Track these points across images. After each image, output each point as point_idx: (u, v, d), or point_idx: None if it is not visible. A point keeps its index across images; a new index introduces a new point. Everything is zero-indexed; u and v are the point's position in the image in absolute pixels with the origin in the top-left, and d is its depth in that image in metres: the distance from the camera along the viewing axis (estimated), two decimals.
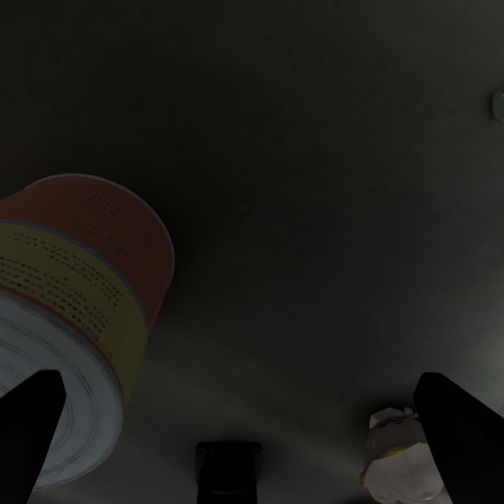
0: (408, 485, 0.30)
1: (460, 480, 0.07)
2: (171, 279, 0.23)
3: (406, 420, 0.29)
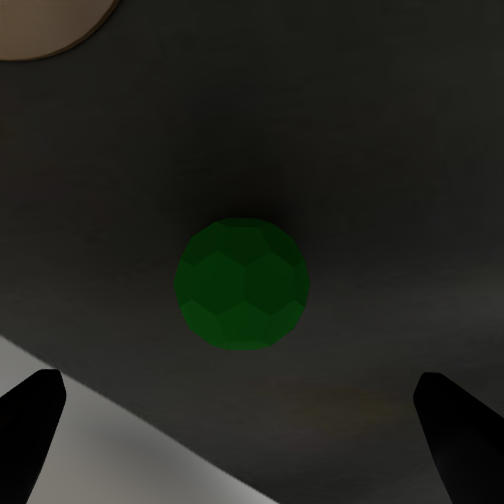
0: None
1: (460, 480, 0.07)
2: None
3: None
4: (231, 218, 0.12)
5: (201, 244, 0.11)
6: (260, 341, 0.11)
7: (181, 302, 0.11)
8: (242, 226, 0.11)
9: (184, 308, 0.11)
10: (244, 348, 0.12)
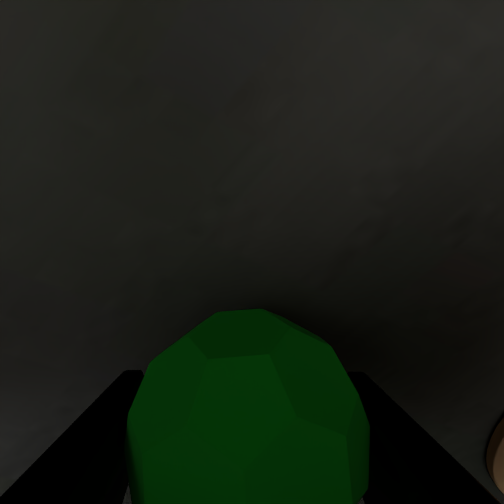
0: None
1: (372, 482, 0.07)
2: None
3: None
4: None
5: None
6: None
7: (349, 447, 0.05)
8: None
9: (341, 455, 0.05)
10: (167, 459, 0.05)
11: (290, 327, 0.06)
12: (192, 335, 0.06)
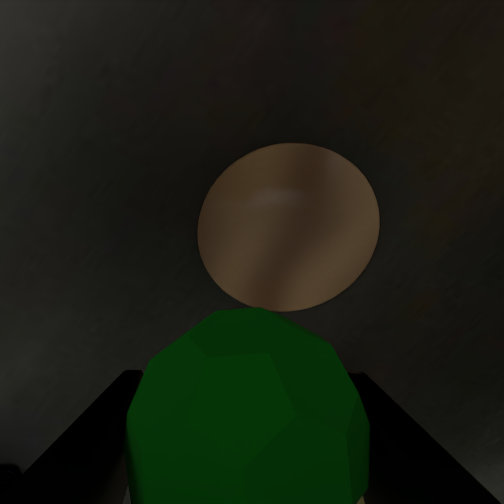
0: None
1: (372, 482, 0.07)
2: None
3: None
4: None
5: None
6: None
7: (349, 446, 0.05)
8: None
9: (341, 454, 0.05)
10: (167, 458, 0.05)
11: (290, 326, 0.06)
12: (192, 333, 0.06)
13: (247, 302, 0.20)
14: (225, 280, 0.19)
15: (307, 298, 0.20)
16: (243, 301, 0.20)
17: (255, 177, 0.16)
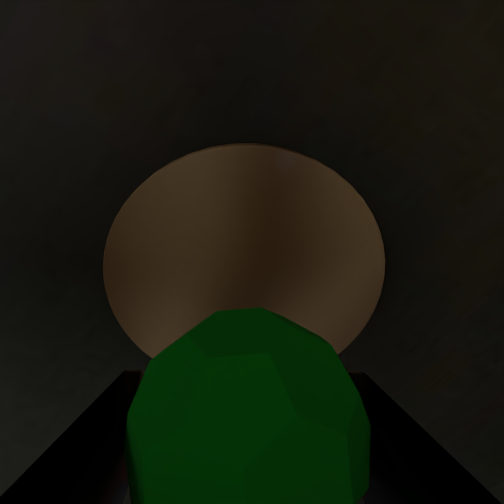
0: None
1: (372, 482, 0.07)
2: None
3: None
4: None
5: None
6: None
7: (350, 446, 0.05)
8: None
9: (341, 454, 0.05)
10: (167, 458, 0.05)
11: (290, 326, 0.06)
12: (192, 333, 0.06)
13: None
14: (156, 348, 0.13)
15: None
16: None
17: (185, 200, 0.10)
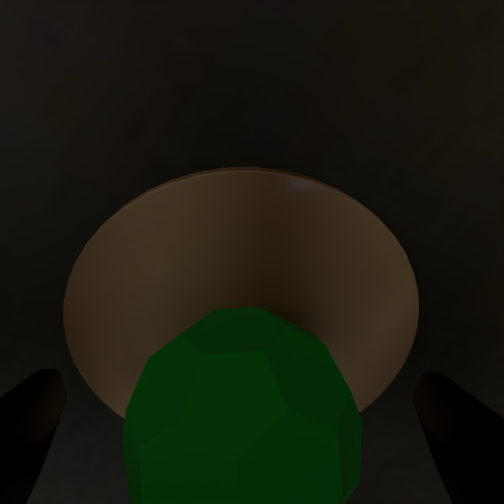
0: None
1: (460, 480, 0.07)
2: None
3: None
4: None
5: None
6: None
7: (340, 440, 0.06)
8: None
9: (331, 448, 0.05)
10: (163, 451, 0.05)
11: (284, 324, 0.07)
12: (188, 332, 0.07)
13: None
14: None
15: None
16: None
17: (165, 239, 0.08)
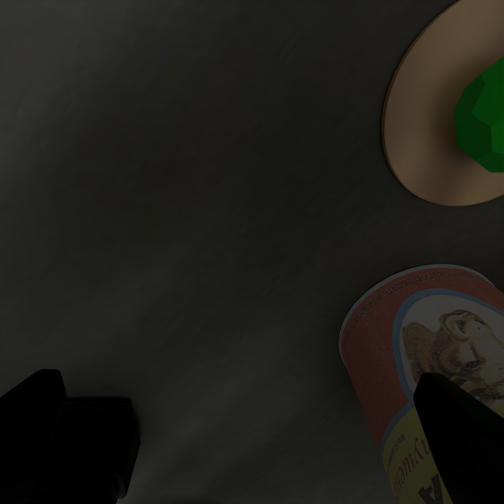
0: None
1: (460, 480, 0.07)
2: None
3: None
4: None
5: None
6: None
7: None
8: None
9: None
10: None
11: None
12: None
13: (420, 194, 0.18)
14: (403, 165, 0.17)
15: (487, 189, 0.18)
16: (416, 192, 0.18)
17: (470, 26, 0.14)
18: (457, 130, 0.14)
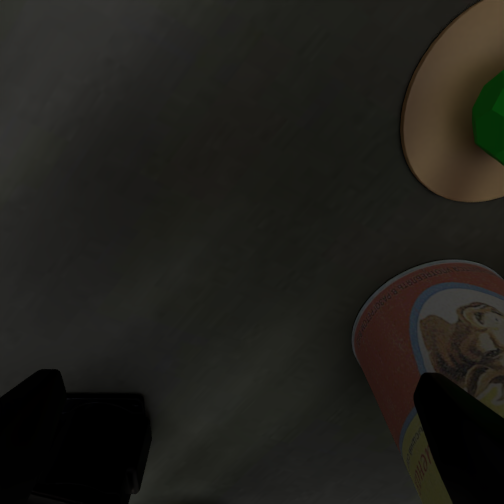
0: None
1: (460, 480, 0.07)
2: None
3: None
4: None
5: None
6: None
7: None
8: None
9: None
10: None
11: None
12: None
13: (436, 190, 0.18)
14: (420, 161, 0.17)
15: (501, 185, 0.18)
16: (432, 188, 0.18)
17: (488, 26, 0.15)
18: (476, 126, 0.15)
